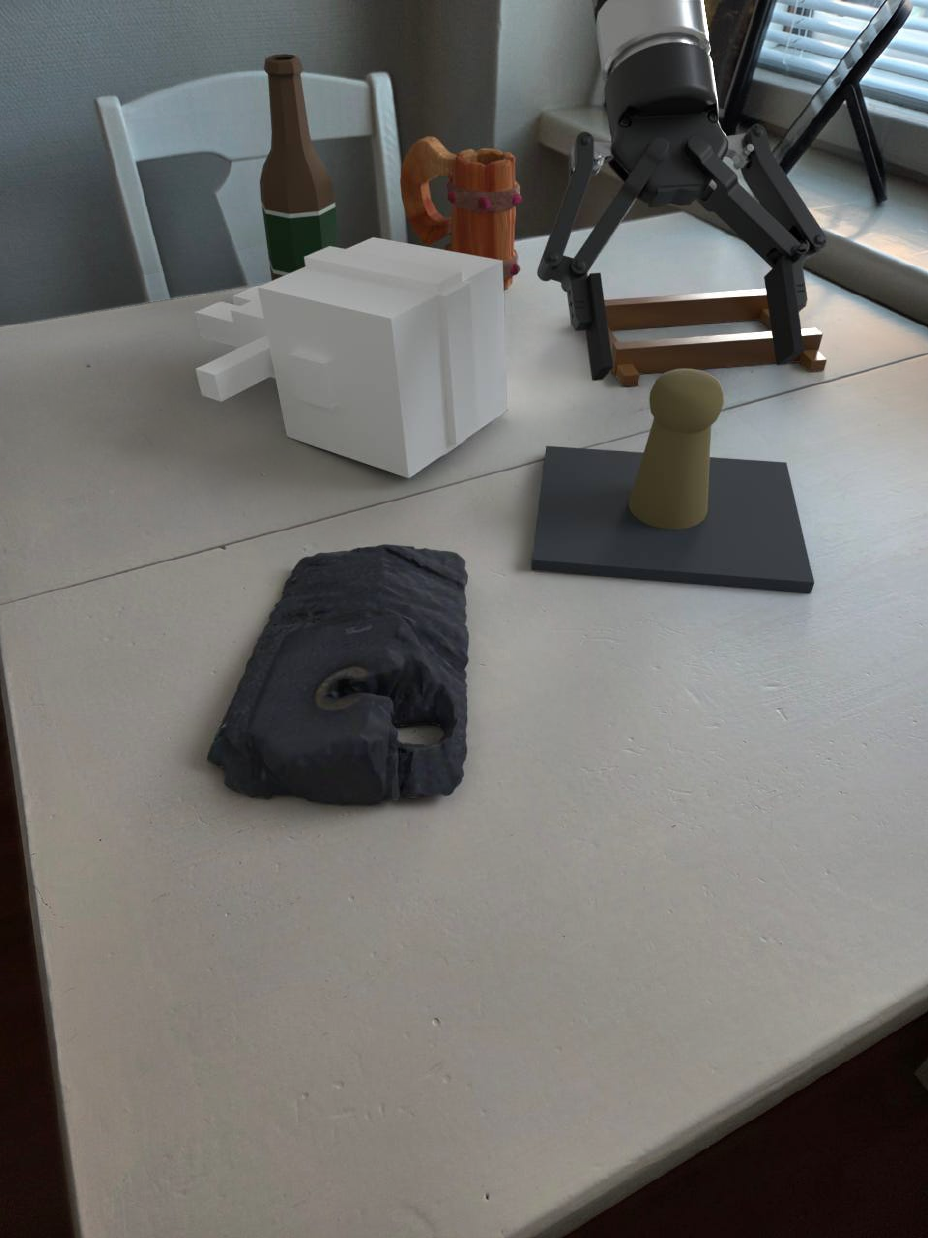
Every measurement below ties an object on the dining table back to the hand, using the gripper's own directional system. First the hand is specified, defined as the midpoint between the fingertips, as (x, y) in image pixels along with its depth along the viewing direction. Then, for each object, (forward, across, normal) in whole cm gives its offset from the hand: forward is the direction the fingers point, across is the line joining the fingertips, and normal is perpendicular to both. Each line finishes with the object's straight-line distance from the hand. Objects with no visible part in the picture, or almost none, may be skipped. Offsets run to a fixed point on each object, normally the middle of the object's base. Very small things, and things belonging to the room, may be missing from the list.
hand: (697, 366), depth 66 cm
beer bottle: (-23, +26, -42) cm, 54 cm away
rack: (-12, -13, -30) cm, 35 cm away
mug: (-25, +8, -44) cm, 51 cm away
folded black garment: (+18, +25, 0) cm, 31 cm away
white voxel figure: (-7, +24, -25) cm, 35 cm away
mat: (+9, 0, -10) cm, 13 cm away
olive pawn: (+8, 0, -9) cm, 12 cm away
